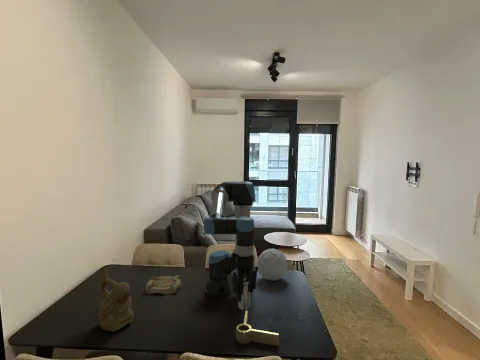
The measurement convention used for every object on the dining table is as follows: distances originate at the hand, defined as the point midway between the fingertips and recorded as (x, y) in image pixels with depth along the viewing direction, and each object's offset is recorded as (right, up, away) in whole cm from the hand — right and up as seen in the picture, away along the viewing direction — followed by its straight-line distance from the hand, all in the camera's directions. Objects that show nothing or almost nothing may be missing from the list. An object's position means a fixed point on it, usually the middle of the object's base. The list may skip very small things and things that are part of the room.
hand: (244, 306), depth 130 cm
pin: (0, -1, 0) cm, 1 cm away
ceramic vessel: (-61, -13, +12) cm, 63 cm away
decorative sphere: (+19, -10, +65) cm, 69 cm away
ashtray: (-48, -10, +52) cm, 71 cm away
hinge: (+6, -14, +4) cm, 16 cm away
